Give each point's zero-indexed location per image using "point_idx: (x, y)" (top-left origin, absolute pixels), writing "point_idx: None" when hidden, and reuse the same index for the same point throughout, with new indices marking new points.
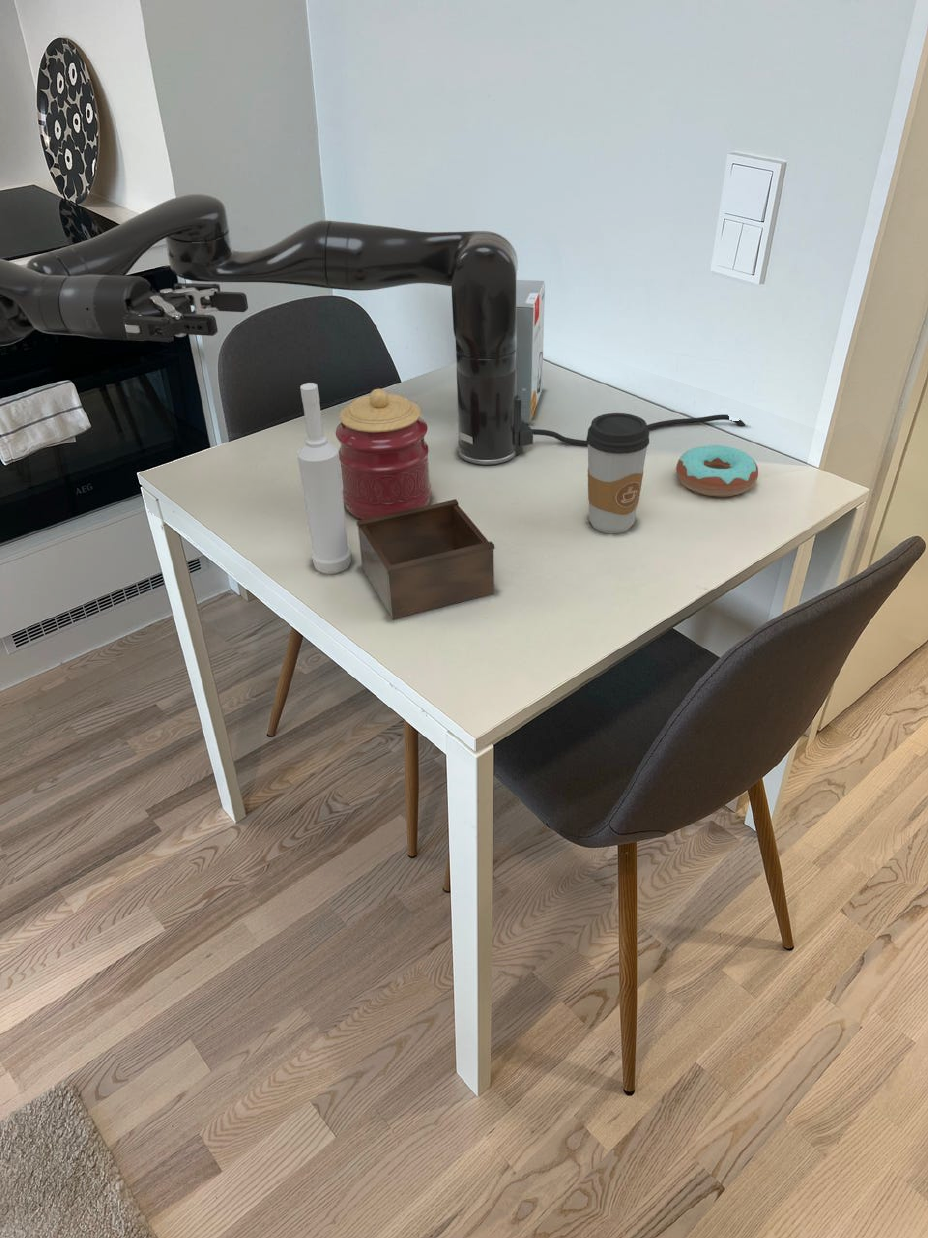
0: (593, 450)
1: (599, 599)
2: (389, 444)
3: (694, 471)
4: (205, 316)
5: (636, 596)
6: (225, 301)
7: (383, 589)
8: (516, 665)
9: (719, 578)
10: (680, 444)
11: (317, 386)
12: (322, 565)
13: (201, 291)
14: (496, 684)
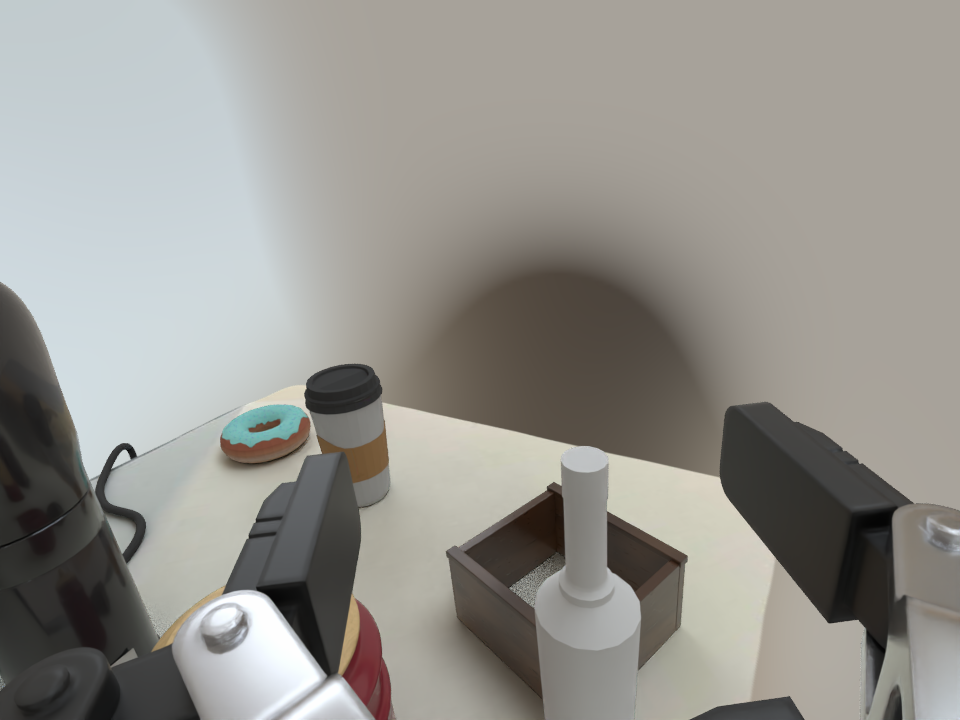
0: (366, 409)
1: (522, 470)
2: (365, 616)
3: (287, 431)
4: (781, 414)
5: (505, 451)
6: (335, 572)
7: (661, 621)
8: (669, 493)
9: (455, 419)
10: (162, 479)
11: (574, 447)
12: None
13: (268, 702)
14: (709, 498)
